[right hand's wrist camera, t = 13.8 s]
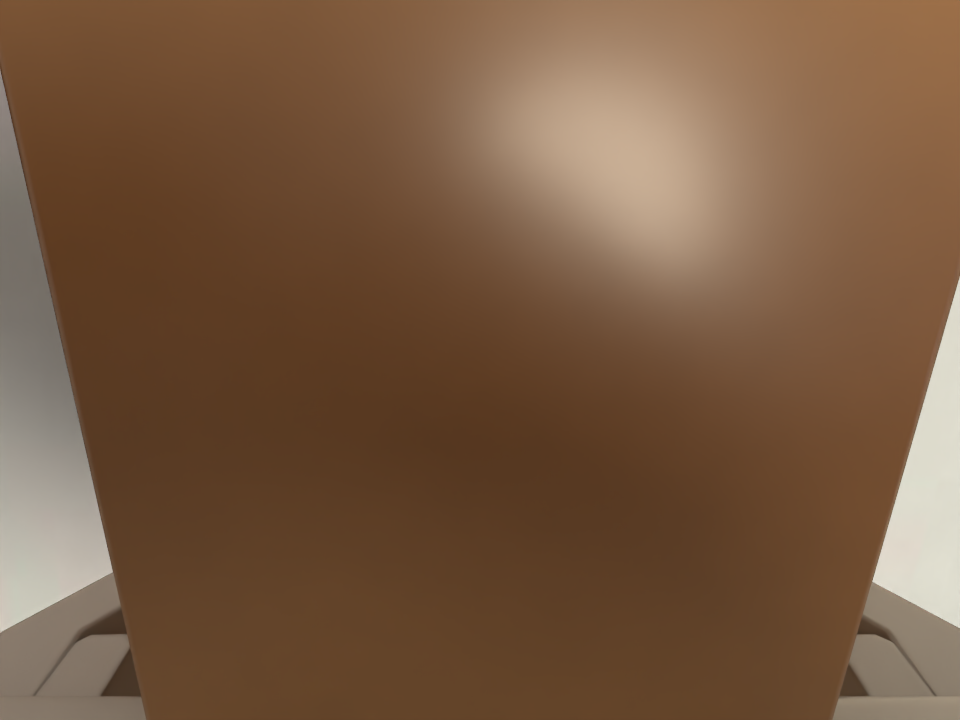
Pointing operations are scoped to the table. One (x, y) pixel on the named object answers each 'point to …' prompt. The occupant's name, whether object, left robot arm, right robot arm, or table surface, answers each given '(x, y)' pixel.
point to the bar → (493, 339)
